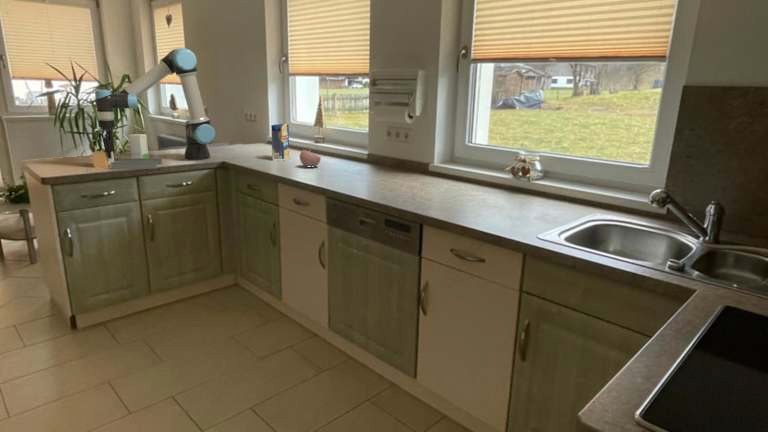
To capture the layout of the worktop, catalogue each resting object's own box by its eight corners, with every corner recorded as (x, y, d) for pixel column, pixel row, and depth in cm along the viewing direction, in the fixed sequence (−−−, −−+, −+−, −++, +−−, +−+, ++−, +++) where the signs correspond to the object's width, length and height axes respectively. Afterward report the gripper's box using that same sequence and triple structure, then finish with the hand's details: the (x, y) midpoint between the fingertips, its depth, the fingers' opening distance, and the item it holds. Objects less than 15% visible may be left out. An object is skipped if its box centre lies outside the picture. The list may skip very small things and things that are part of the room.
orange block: (110, 165, 264) (108, 151, 262) (106, 167, 258) (104, 152, 256) (97, 165, 263) (96, 151, 261) (94, 167, 257) (92, 152, 255)
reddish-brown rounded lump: (324, 168, 280) (324, 148, 277) (307, 169, 273) (306, 149, 270) (313, 165, 289) (313, 146, 286) (296, 166, 281) (295, 147, 278)
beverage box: (289, 159, 309) (288, 124, 303) (282, 161, 299) (281, 125, 293) (279, 158, 310) (278, 123, 304) (272, 160, 300) (271, 125, 294)
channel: (162, 164, 274) (161, 158, 274) (156, 168, 260) (155, 162, 259) (119, 164, 269) (119, 158, 269) (111, 168, 255) (110, 162, 254)
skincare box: (142, 162, 278) (139, 135, 274) (131, 161, 278) (128, 134, 274) (149, 160, 286) (147, 133, 282) (138, 159, 286) (135, 133, 282)
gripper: (102, 118, 260) (107, 161, 266) (94, 120, 248) (99, 165, 254) (117, 119, 262) (122, 161, 268) (110, 120, 250) (115, 165, 256)
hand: (111, 163), depth 261 cm, fingers closed
